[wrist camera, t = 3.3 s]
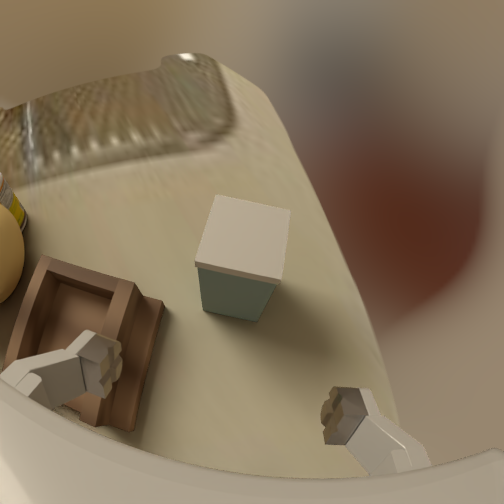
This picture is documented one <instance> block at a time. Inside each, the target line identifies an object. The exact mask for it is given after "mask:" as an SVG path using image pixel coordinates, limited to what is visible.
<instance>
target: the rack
mask: <svg viewBox="0 0 504 504" xmlns="http://www.w3.org/2000/svg"><path fill="white" fill-rule="evenodd" d="M164 308H165V305H164V303H163V301H161V300H157V299H153V298H150V297H146V296H143V295H142V293H141V292H140V290H139V289H138V287H137V286H136V284H135V283H134V282H130V281H127V280H123V279H120V278H116V277H113V276H109V275H106V274H102V273H99V272H96V271H92V270H89V269H86V268H82V267H79V266H76V265H73V264H69V263H66V262H63V261H60V260H57V259H54V258H51V257H48V256H45V255H41V258H40V260H39V262H38V264H37V267H36V269H35V271H34V274H33V276H32V278H31V281H30V283H29V286H28V288H27V291H26V294H25V296H24V299H23V302H22V304H21V307H20V310H19V313H18V316H17V319H16V322H15V325H14V328H13V332H12V335H11V338H10V342H9V346H8V349H7V353H6V357H5V361H4V366H3V370H2V372H3V371H4V370H5V369H6V368H7V367H8V366H9V365H11V364H12V363H13V362H14V361H15V360H20V359H24V358H28V357H32V356H36V355H40V354H44V353H48V352H52V351H55V350H59V349H64V350H66V348H67V347H68V346H69V345H70V344H71V343H72V342H73V341H74V340H75V339H76V338H77V337H78V336H79V335H80V334H81V333H82V332H83V331H85V330H90V331H92V332H95V333H97V334H101V335H103V336H106V337H108V338H111V339H114V340H117V341H119V342H120V343H121V348H122V351H121V352H120V353H119V355H120V357H121V358H122V371H121V374H120V376H119V378H118V380H117V381H115V382H113V383H112V389H111V391H110V392H109V394H108V395H107V397H106V398H105V399H104V398H101V397H99V396H96V395H94V394H91V393H89V392H86V393H84V394H82V395H80V396H78V397H76V398H74V399H72V400H70V401H68V402H66V403H64V405H66V406H68V407H70V408H72V409H75V410H77V411H79V412H81V414H80V419H79V420H80V421H83V422H85V423H87V424H89V425H91V426H94V427H99V426H104V425H111V426H114V427H116V428H119V429H122V430H124V431H127V432H131V431H133V430H134V427H135V422H136V417H137V413H138V408H139V404H140V399H141V395H142V391H143V386H144V382H145V378H146V374H147V370H148V366H149V362H150V358H151V354H152V350H153V347H154V343H155V339H156V336H157V332H158V328H159V325H160V321H161V318H162V314H163V311H164Z"/></svg>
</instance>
